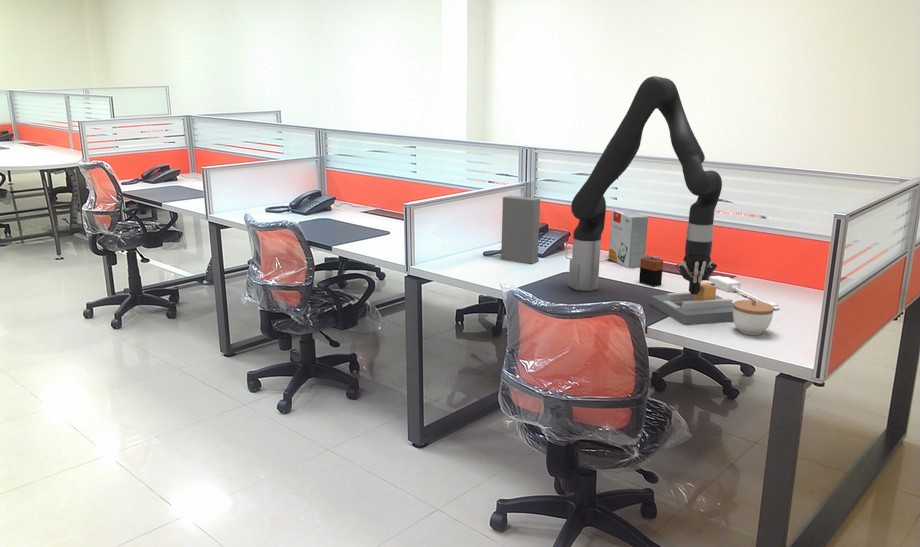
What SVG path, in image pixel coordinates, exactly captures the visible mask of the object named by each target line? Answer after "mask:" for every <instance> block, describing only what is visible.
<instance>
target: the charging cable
mask: <svg viewBox="0 0 920 547" xmlns="http://www.w3.org/2000/svg"><path fill="white" fill-rule="evenodd" d="M708 281H709V282H710V283H712V284H714V286H715V287H716V289H720V290H722V291H724V292H726V293H734V292H739V293H741V294H744V295H745V296H748V297H750V298H752V299H755V300H756V301H760V302H764V303H767V304H770V305H772V306H773V307H774V310H780V309H781V308H780V307H779V306H778V304H777V303H775V302H773V301H765V300H763V299H761V298H759V297H756V296H755V295H754V294H751V293H748V292H746V291H745V290H742V289H741V282H739V281H737V280H735V279H734V278H731V277H728V276H722V275H713V276H711V275H710V276H709V277H708Z"/></svg>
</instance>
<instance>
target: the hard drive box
mask: <svg viewBox="0 0 920 547" xmlns="http://www.w3.org/2000/svg"><path fill="white" fill-rule="evenodd" d="M648 224H649V216H648V215H644V214H642V213H639V212H636V211H633V210H630V209H614V210H613V209H612V210H611V216H610V230H609V232H610V233H609V245H608V249H609V250H608V259H609V260H611V261H613V262H615V263H617V264H619V265H621V266H623V267H625V268H627V269H630V268H640V263H641V258H643V257H646V246H647V237H648V235H647V234H648Z"/></svg>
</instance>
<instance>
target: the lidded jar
mask: <svg viewBox="0 0 920 547" xmlns="http://www.w3.org/2000/svg"><path fill="white" fill-rule="evenodd" d="M732 303H733V320H734V321H733V323H734V325H735V326H736V327H737V329H738V331H739V332H740V333H742V334H746V335H751V336H758V335H762V333H764V332H765V331H766V330H767V329H768V328H769V327H770V325H771V323H772V322H773V321H772V320H773V316H774V311H775V309H774V307H773V306H772V305H770V304H767V303H764V302H760V301H758V300H756V299H753V298H752V300H751V299H740V300H736V301H734V302H732Z"/></svg>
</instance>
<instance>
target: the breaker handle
mask: <svg viewBox="0 0 920 547" xmlns="http://www.w3.org/2000/svg"><path fill="white" fill-rule="evenodd" d="M715 295H717V287H715V285H713V284H710V283H708V282H703V283H702V282H701V283H700V291H699V292H698V294H695V295H694V299H695V300H697V301H701V300H715Z"/></svg>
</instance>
